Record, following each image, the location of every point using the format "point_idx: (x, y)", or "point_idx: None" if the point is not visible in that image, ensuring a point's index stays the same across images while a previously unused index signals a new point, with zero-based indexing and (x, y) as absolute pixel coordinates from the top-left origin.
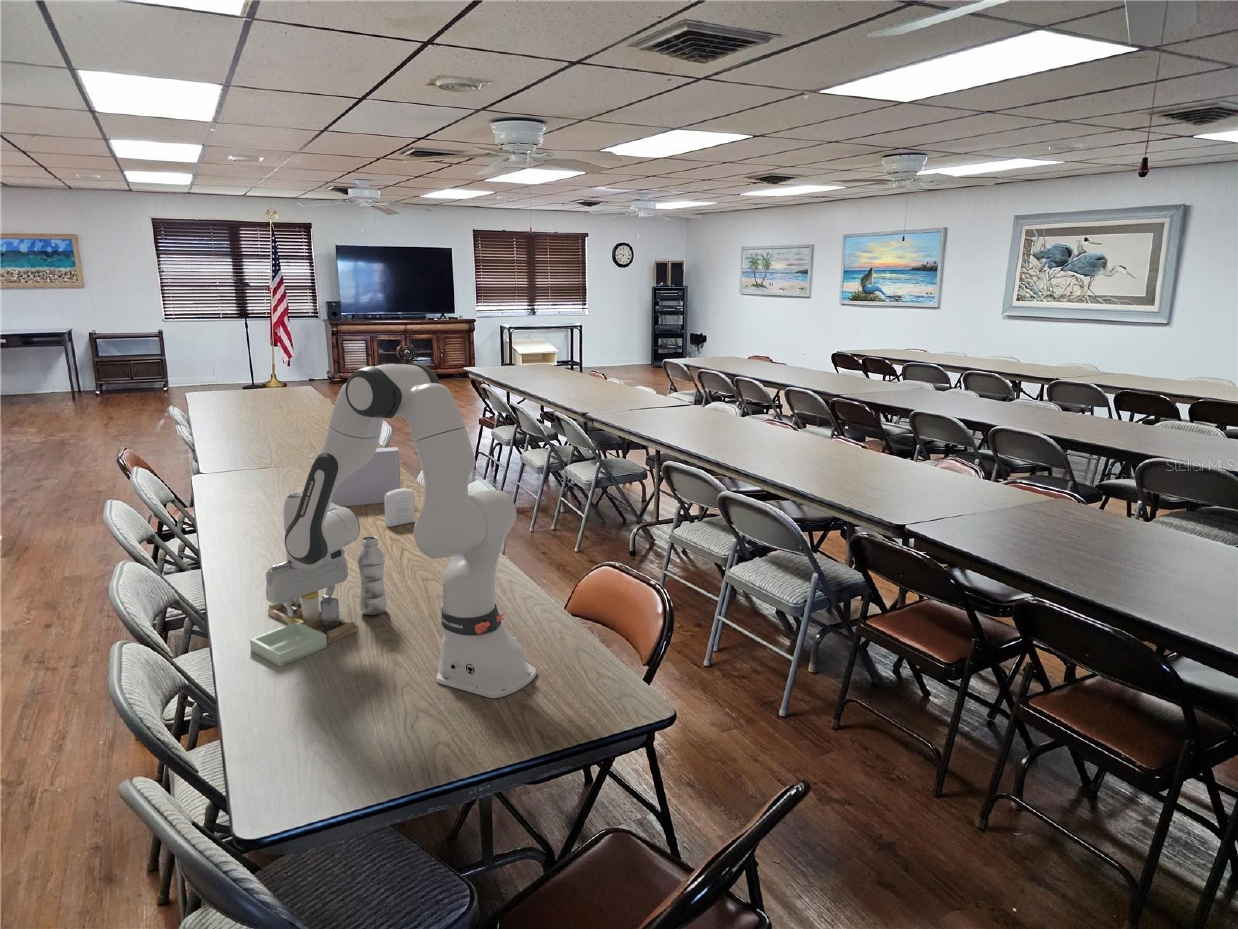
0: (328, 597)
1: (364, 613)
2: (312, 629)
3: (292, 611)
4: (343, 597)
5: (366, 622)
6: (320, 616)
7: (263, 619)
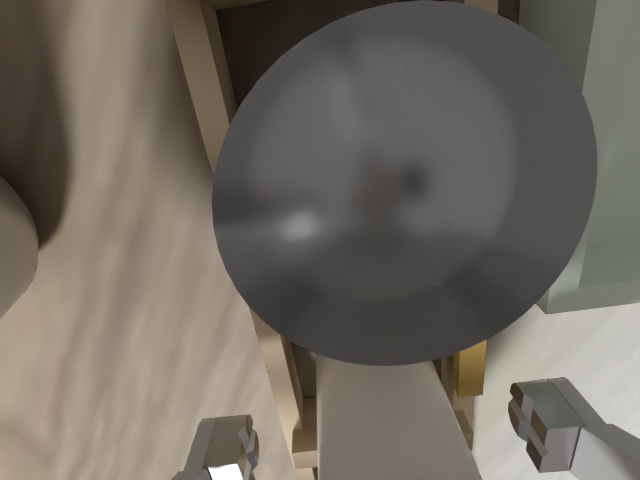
0: (217, 460)
1: (24, 207)
2: (595, 67)
3: (588, 410)
4: (102, 470)
5: (51, 93)
6: (293, 360)
7: (496, 475)
